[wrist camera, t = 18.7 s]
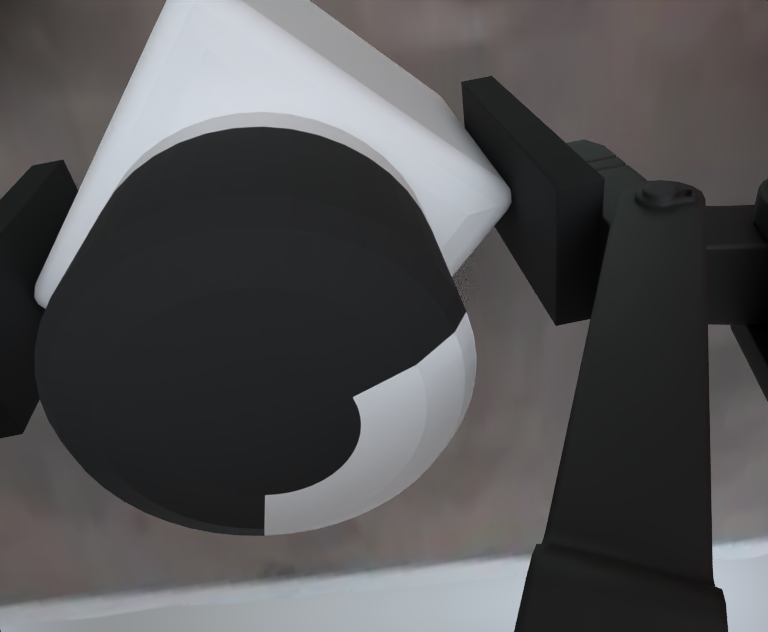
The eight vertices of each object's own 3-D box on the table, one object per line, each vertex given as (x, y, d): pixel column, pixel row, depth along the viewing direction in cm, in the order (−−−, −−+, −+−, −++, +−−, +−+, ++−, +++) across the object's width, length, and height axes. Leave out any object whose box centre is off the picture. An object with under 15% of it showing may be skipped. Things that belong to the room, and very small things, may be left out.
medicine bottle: (109, 172, 18) (-110, 514, 8) (223, -64, 15) (97, 17, 5) (318, 280, 21) (345, 626, 11) (448, 100, 18) (640, 350, 8)
